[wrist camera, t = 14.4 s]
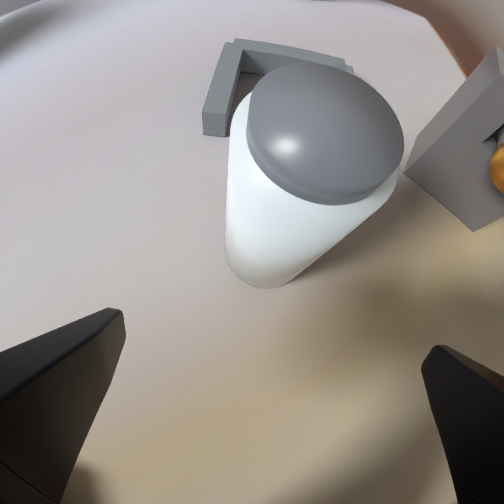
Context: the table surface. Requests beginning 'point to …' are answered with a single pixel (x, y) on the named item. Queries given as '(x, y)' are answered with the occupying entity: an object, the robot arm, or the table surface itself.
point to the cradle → (252, 61)
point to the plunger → (498, 162)
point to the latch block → (464, 147)
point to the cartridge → (305, 169)
